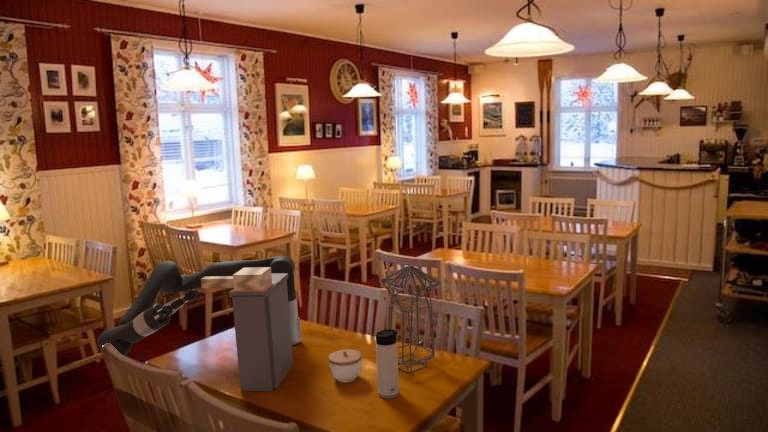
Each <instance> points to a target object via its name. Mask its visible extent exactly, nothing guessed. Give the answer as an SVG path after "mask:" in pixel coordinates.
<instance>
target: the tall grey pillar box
mask: <svg viewBox="0 0 768 432" xmlns="http://www.w3.org/2000/svg"><path fill="white" fill-rule="evenodd" d="M271 276H272V283H271V284H270V285H268V286H267V287H266V288H265V289H264V290H262V291H234V288H231V290H230V291H229V292H228V297H229V298H231V299H232V309H233V312H232V313H233V321H234V330H235V331H234V332H235V343H236V352H237V353H236V354H237V364H238V376H239V386H240V391H243V392H244V391H245V392H246V391H247V392H272V391H273V390H274V389H277V388H278V387H279V386H280V384H281V383H282V382H283V380H284V378H285V377H286V375H287V374H288V373H289V371H290V370H291V368H292V367H293V366H294V359H293V347H292V343H291V330H290V317H289V304H288V291H287V278H288V273H272V274H271Z"/></svg>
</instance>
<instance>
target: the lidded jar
mask: <svg viewBox="0 0 768 432" xmlns="http://www.w3.org/2000/svg"><path fill="white" fill-rule="evenodd" d="M328 364H329V365H328V366H329V370H330V373H331V375H332V376H333V377H334V378H335V379H336V380H337V381H338V382H340V383H350V382H354V381H355V380H356V379H357V377H358V376H359V375H360V373H361V371H362V368H363V367H362V366H363V365H362V364H363V355H362V352H361V351H359V350H356V349H340V350H336V351H334V352H331V353H330V354H329V355H328Z"/></svg>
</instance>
